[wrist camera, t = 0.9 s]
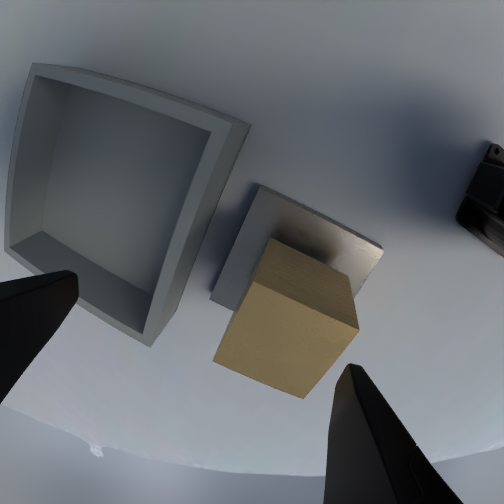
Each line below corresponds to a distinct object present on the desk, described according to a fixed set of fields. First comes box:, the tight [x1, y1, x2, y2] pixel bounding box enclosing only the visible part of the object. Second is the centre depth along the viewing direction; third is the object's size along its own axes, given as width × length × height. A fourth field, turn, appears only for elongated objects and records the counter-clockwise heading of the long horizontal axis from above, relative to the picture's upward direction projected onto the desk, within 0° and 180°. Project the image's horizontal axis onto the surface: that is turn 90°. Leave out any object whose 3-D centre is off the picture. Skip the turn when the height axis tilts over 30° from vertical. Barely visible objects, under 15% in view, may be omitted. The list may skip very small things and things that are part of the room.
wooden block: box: [213, 238, 359, 399], centre depth 17 cm, size 5×5×6 cm
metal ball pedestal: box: [210, 185, 384, 311], centre depth 18 cm, size 9×9×8 cm
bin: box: [4, 63, 251, 347], centre depth 20 cm, size 16×16×5 cm
